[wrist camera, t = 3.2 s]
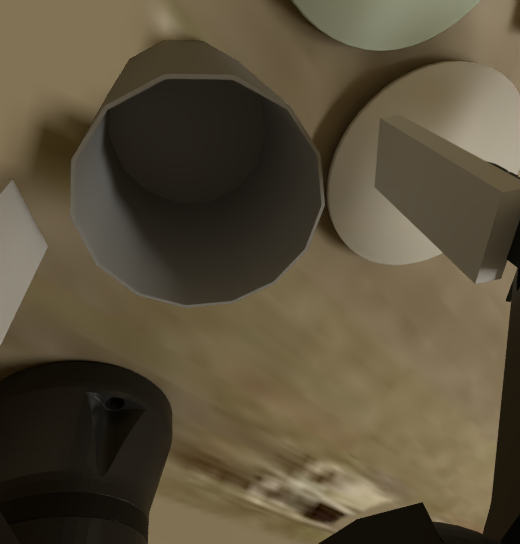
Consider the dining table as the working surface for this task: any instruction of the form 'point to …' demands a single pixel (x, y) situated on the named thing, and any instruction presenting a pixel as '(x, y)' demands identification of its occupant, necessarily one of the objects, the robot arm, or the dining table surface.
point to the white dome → (436, 118)
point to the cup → (195, 179)
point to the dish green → (383, 20)
